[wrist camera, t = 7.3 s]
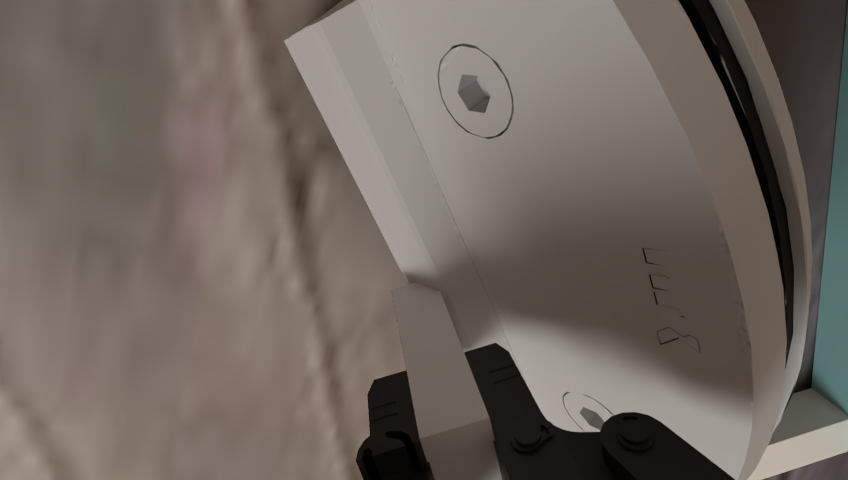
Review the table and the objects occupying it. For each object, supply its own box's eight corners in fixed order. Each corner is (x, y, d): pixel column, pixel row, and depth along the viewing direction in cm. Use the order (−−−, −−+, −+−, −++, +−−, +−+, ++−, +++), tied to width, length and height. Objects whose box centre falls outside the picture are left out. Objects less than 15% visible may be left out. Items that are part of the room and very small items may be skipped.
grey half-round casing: (276, 25, 13) (627, -224, 5) (403, -28, 15) (790, -259, 7) (488, 443, 20) (783, 622, 12) (555, 364, 22) (842, 470, 14)
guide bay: (414, -171, 13) (454, -295, 8) (943, -308, 13) (1262, -496, 9) (553, 502, 23) (606, 616, 18) (846, 407, 24) (967, 495, 19)
